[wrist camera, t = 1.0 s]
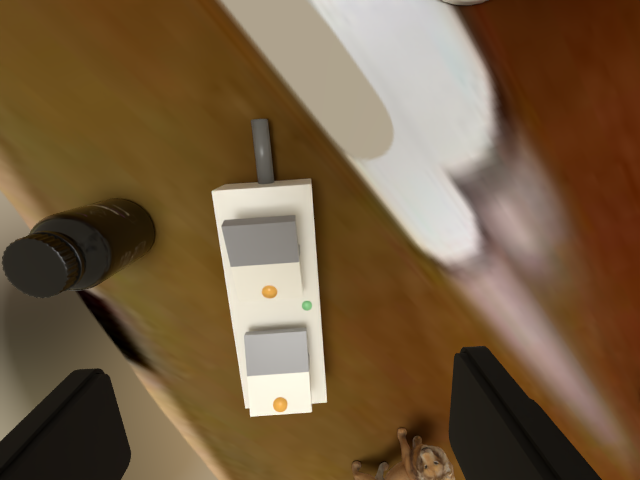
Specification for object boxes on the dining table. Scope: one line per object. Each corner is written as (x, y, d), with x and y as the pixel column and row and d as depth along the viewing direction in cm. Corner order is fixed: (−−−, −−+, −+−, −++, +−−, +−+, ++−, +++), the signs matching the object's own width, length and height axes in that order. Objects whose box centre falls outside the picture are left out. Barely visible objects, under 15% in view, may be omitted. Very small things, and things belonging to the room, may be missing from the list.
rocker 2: (306, 325, 34) (306, 331, 32) (312, 402, 34) (311, 412, 32) (247, 329, 34) (243, 336, 32) (253, 406, 34) (250, 417, 32)
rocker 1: (295, 211, 29) (294, 222, 27) (303, 285, 33) (303, 298, 31) (225, 216, 29) (220, 227, 27) (241, 290, 33) (238, 303, 31)
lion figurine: (413, 402, 43) (438, 467, 35) (442, 422, 45) (473, 490, 36) (340, 471, 46) (347, 547, 38) (369, 489, 48) (382, 566, 39)
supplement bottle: (137, 188, 35) (51, 210, 23) (167, 247, 37) (101, 294, 25) (78, 210, 35) (-34, 242, 24) (111, 266, 37) (21, 322, 26)
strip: (306, 117, 33) (305, 112, 28) (325, 372, 42) (327, 407, 36) (216, 123, 33) (197, 119, 28) (253, 377, 42) (244, 413, 36)
